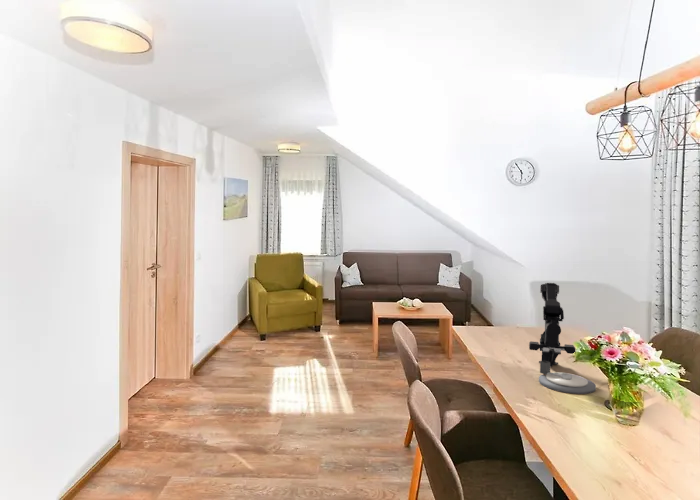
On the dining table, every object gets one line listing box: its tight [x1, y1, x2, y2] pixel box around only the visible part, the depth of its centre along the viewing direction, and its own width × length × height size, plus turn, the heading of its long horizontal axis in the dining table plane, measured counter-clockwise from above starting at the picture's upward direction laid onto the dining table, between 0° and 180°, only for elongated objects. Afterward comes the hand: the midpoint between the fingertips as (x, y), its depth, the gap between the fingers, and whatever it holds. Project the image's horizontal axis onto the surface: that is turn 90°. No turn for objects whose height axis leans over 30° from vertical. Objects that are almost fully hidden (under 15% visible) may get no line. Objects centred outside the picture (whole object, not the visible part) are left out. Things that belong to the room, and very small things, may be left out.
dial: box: [539, 360, 589, 387], centre depth 188 cm, size 20×16×6 cm
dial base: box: [538, 374, 597, 395], centre depth 187 cm, size 22×22×2 cm
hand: (551, 366), depth 196 cm, fingers closed
